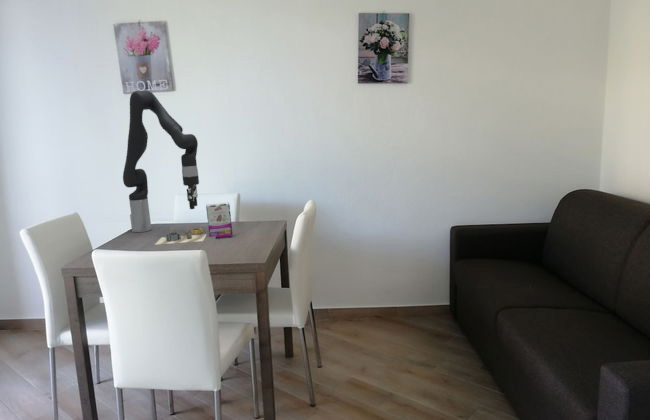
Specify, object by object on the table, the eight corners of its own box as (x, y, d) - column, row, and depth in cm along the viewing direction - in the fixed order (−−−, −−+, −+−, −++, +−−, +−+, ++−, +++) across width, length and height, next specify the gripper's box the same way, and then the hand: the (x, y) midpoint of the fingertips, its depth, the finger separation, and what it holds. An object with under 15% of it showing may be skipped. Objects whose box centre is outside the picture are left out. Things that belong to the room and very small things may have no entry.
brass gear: (188, 237, 232) (188, 231, 231) (191, 234, 238) (190, 228, 238) (202, 236, 232) (201, 230, 232) (203, 233, 239) (203, 227, 238)
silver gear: (165, 241, 219) (164, 235, 218) (168, 238, 225) (167, 232, 225) (179, 240, 220) (178, 234, 219) (181, 237, 226) (181, 231, 225)
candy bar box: (232, 234, 233) (229, 202, 229) (232, 236, 228) (229, 203, 225) (209, 237, 230) (205, 204, 227) (209, 239, 225) (206, 205, 222)
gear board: (154, 247, 215) (152, 232, 214) (161, 239, 229) (160, 225, 227) (203, 243, 217) (201, 228, 216) (207, 236, 231) (205, 222, 230)
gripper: (185, 174, 236) (188, 205, 239) (179, 177, 222) (183, 210, 225) (200, 173, 237) (203, 204, 240) (195, 176, 223) (199, 209, 226)
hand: (193, 207), depth 233 cm, fingers open, 8 cm apart
